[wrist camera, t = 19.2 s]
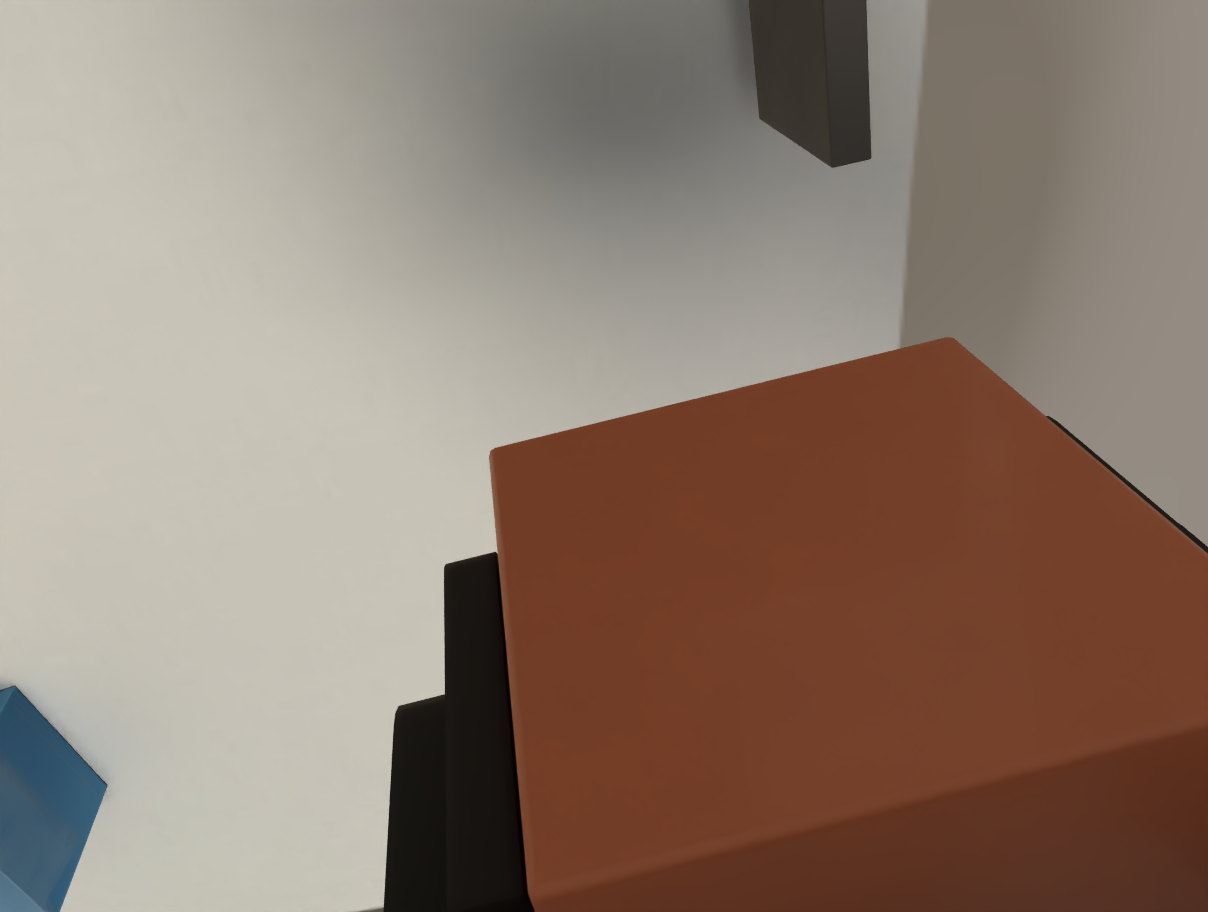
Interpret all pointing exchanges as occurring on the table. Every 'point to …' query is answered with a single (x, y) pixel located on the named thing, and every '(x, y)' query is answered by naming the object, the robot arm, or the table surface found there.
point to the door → (814, 75)
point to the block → (851, 656)
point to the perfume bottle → (40, 808)
